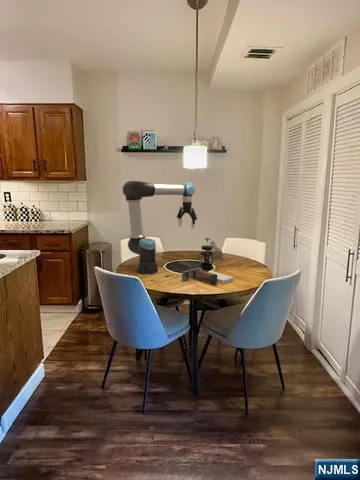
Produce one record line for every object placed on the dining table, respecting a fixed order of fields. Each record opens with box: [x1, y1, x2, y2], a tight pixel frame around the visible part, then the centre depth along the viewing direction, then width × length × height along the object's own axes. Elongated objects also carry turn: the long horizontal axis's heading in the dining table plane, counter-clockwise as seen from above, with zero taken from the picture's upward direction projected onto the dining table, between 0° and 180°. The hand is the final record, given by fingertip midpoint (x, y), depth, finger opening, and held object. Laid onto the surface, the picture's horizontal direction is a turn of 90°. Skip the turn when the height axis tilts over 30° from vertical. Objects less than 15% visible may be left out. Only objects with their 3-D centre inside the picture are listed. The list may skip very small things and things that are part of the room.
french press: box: [197, 238, 214, 271], centre depth 243 cm, size 12×9×23 cm
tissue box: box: [205, 239, 223, 261], centre depth 278 cm, size 19×10×16 cm, turn 8°
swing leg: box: [195, 269, 218, 286], centre depth 212 cm, size 4×16×6 cm, turn 41°
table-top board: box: [208, 271, 235, 285], centre depth 218 cm, size 11×19×2 cm, turn 41°
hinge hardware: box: [181, 266, 203, 282], centre depth 218 cm, size 16×6×7 cm, turn 131°
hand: (186, 227), depth 266 cm, fingers open, 13 cm apart
